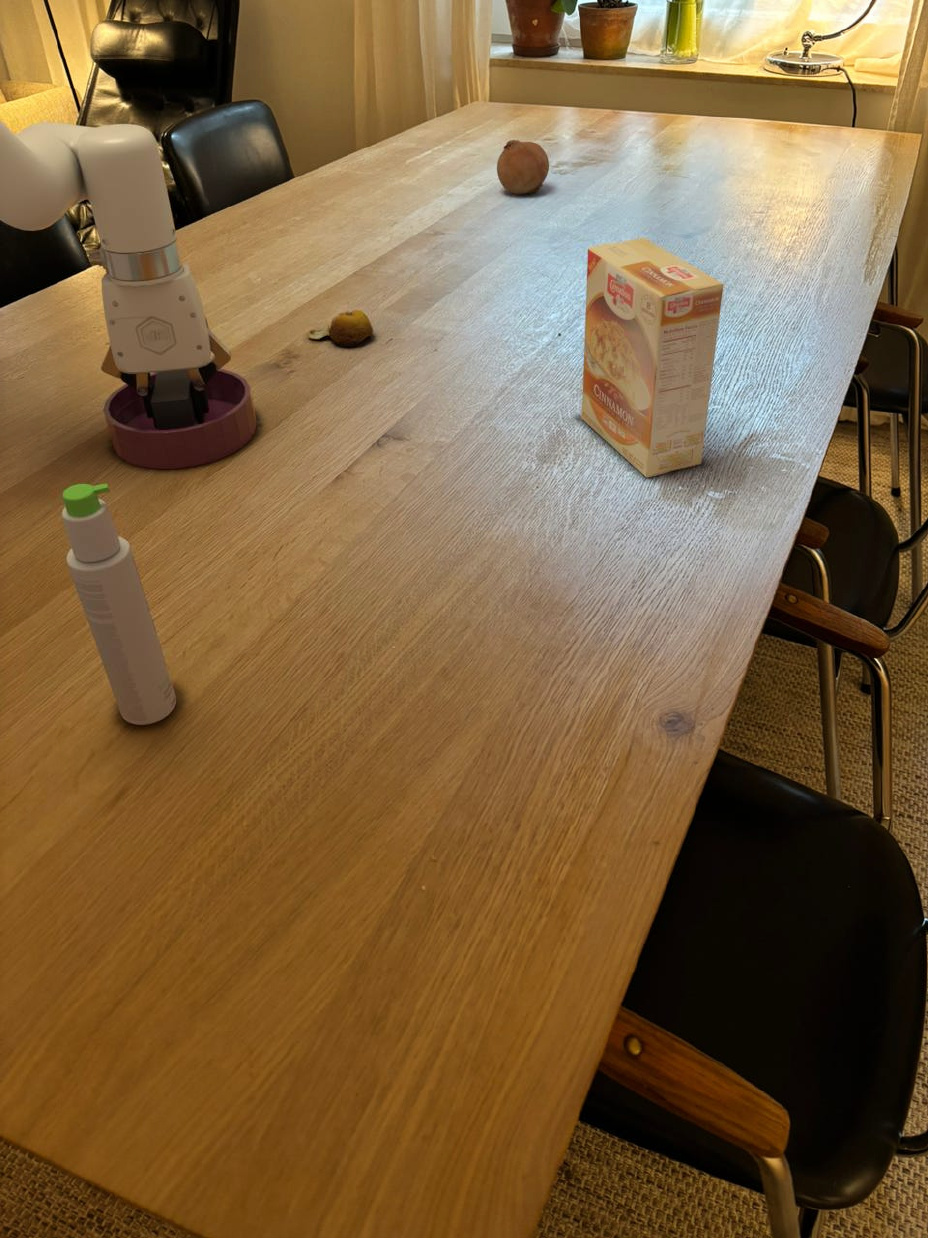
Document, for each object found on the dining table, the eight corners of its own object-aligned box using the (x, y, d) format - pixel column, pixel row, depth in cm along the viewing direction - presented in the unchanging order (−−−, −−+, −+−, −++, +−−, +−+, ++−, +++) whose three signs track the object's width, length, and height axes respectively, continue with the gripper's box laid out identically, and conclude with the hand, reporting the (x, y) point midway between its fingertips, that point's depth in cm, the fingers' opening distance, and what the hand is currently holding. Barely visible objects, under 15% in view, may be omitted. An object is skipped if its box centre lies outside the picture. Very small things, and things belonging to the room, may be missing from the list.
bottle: (172, 723, 77) (104, 506, 65) (115, 728, 77) (36, 511, 65) (180, 685, 81) (117, 472, 68) (126, 689, 81) (52, 476, 68)
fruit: (353, 319, 139) (350, 293, 136) (389, 336, 134) (387, 309, 131) (304, 337, 135) (300, 310, 132) (339, 355, 130) (336, 328, 127)
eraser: (160, 443, 110) (150, 402, 107) (166, 410, 117) (157, 370, 113) (197, 439, 111) (188, 398, 108) (201, 407, 117) (192, 367, 114)
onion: (502, 210, 184) (477, 158, 180) (536, 184, 187) (512, 133, 183) (533, 201, 177) (507, 147, 172) (568, 175, 180) (544, 120, 175)
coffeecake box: (578, 418, 114) (585, 246, 101) (633, 405, 116) (646, 235, 103) (644, 479, 103) (660, 295, 91) (703, 464, 105) (727, 281, 92)
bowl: (105, 476, 108) (94, 439, 105) (122, 408, 120) (112, 374, 117) (256, 460, 109) (248, 423, 106) (257, 395, 122) (251, 360, 119)
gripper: (53, 279, 98) (101, 443, 110) (224, 265, 100) (254, 428, 111) (65, 253, 104) (109, 412, 115) (227, 241, 106) (254, 398, 117)
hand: (180, 418), depth 113 cm, fingers closed on eraser, 4 cm apart
